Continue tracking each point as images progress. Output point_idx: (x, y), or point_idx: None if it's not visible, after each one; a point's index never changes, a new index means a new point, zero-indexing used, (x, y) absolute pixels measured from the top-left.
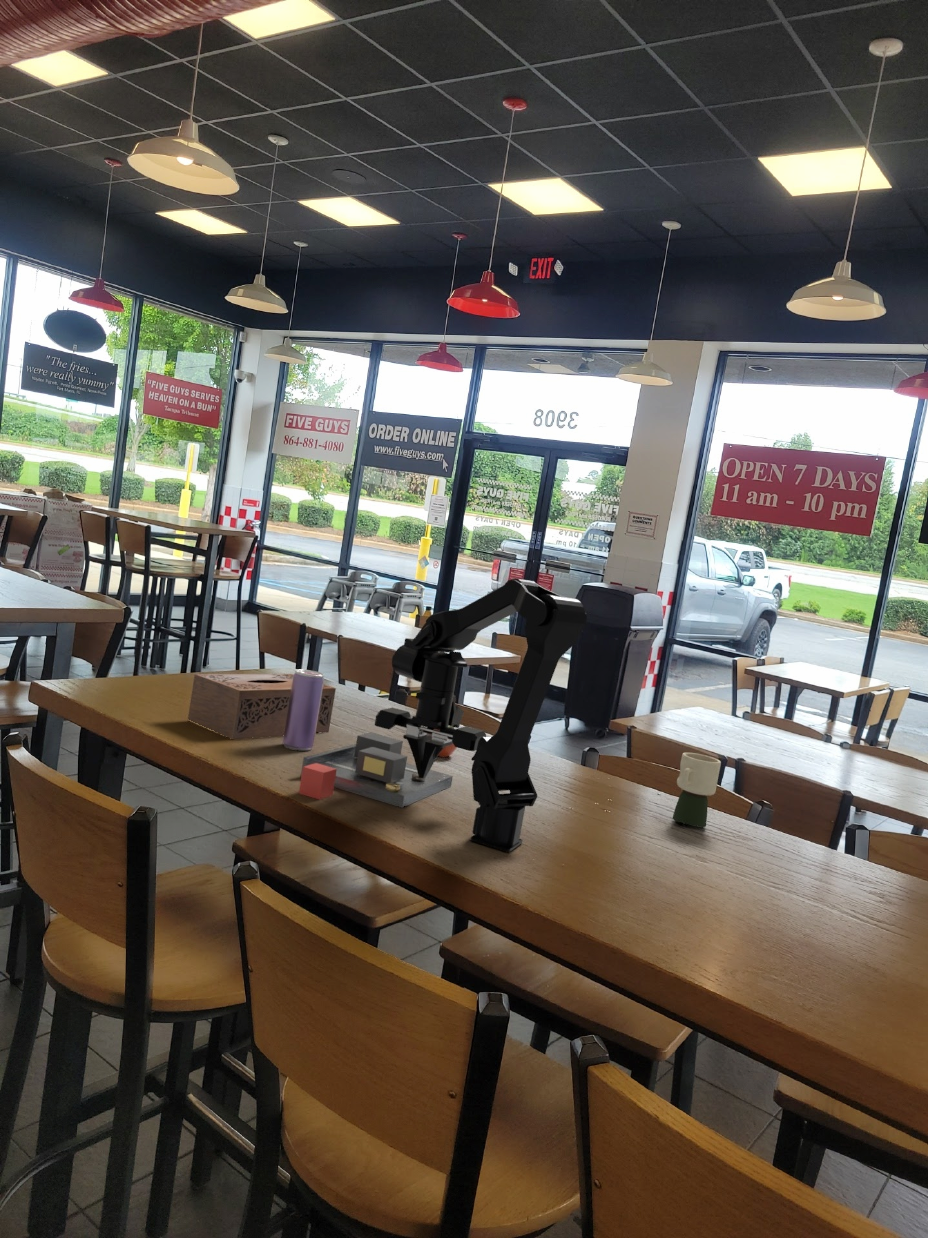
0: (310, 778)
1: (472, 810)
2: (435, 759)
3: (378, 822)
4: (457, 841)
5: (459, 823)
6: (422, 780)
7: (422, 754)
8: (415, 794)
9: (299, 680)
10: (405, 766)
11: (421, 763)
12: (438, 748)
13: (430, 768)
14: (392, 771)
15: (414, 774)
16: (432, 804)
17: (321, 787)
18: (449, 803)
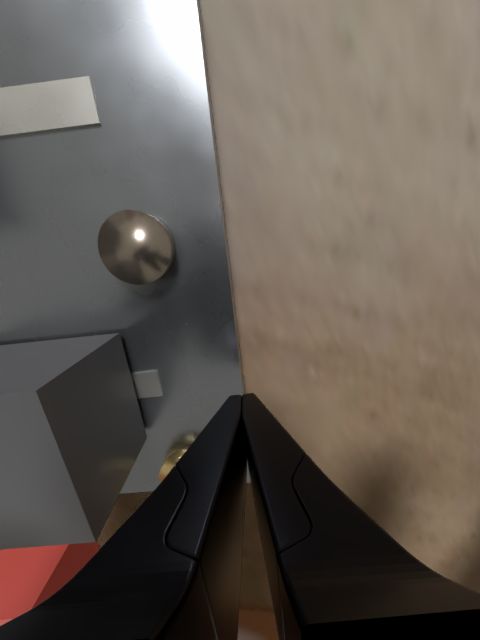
0: None
1: (422, 262)
2: (311, 460)
3: None
4: (467, 524)
5: (430, 420)
6: (173, 262)
7: (232, 578)
8: None
9: None
10: (85, 360)
11: (243, 506)
12: (395, 635)
13: (274, 418)
14: (125, 481)
15: (114, 261)
16: (290, 340)
17: None
18: (324, 269)
